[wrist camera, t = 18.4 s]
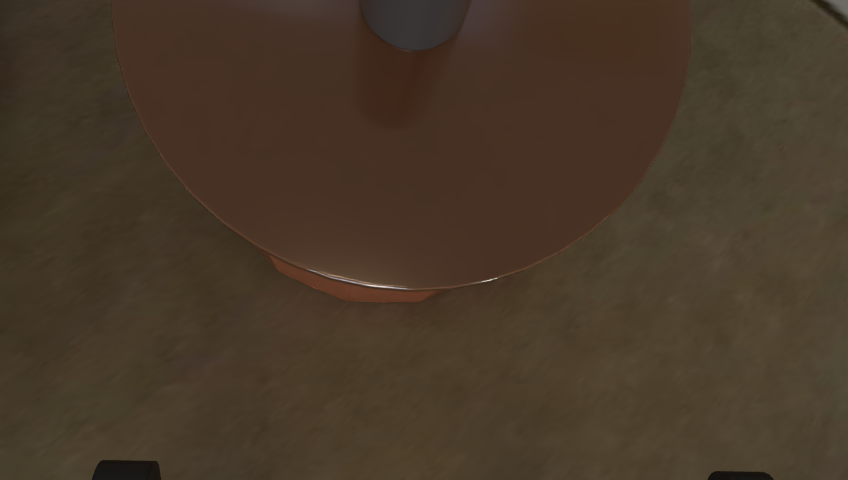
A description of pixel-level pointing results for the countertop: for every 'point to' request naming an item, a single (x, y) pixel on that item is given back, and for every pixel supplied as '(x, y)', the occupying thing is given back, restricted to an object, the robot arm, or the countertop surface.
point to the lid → (407, 124)
